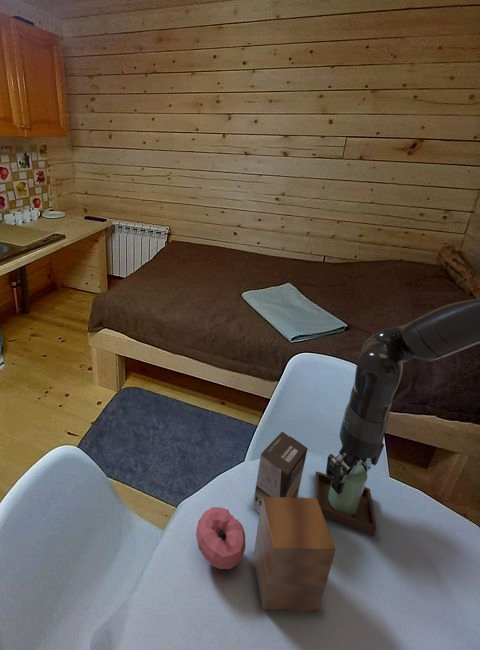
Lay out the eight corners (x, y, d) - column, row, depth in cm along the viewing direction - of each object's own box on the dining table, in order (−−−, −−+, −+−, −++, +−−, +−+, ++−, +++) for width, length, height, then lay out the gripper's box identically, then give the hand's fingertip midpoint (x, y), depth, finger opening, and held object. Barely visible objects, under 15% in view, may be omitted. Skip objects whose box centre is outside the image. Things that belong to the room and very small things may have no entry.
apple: (251, 561, 67) (256, 527, 64) (222, 599, 62) (226, 564, 58) (215, 521, 74) (218, 488, 71) (186, 551, 69) (187, 517, 65)
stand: (303, 557, 68) (316, 497, 62) (318, 611, 61) (335, 549, 55) (253, 556, 68) (262, 496, 62) (262, 610, 60) (274, 547, 55)
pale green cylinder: (341, 483, 81) (349, 452, 78) (364, 509, 76) (374, 477, 72) (321, 493, 79) (329, 461, 75) (343, 520, 73) (352, 488, 70)
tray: (367, 496, 80) (369, 488, 79) (373, 536, 72) (376, 528, 71) (314, 478, 83) (315, 471, 83) (314, 514, 76) (316, 506, 75)
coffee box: (277, 530, 72) (287, 476, 67) (251, 507, 77) (259, 454, 71) (297, 499, 79) (308, 447, 73) (273, 480, 83) (281, 429, 78)
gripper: (353, 453, 64) (336, 514, 69) (404, 429, 69) (385, 487, 75) (322, 422, 70) (310, 480, 76) (371, 403, 76) (356, 458, 81)
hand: (347, 483), depth 75 cm, fingers closed on pale green cylinder, 6 cm apart
